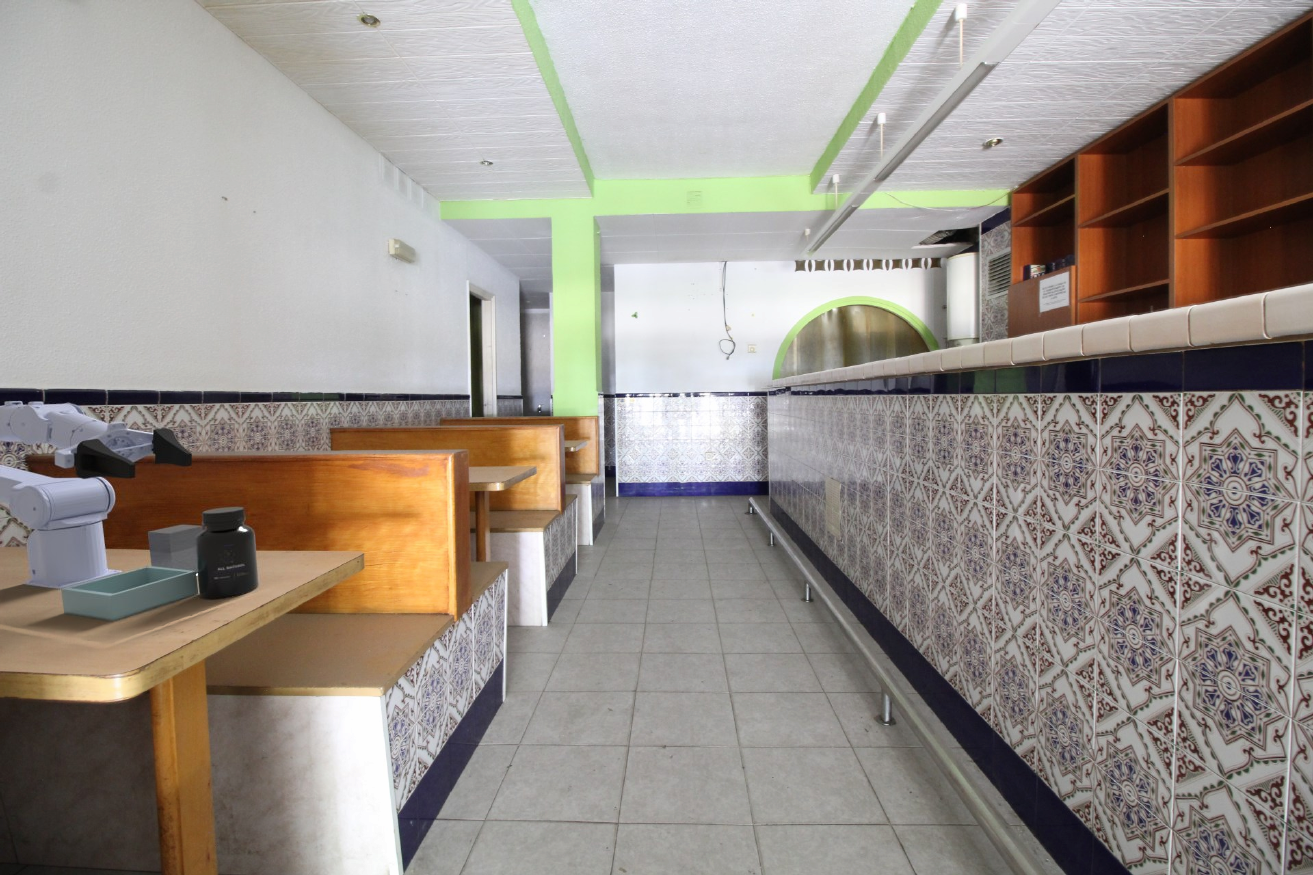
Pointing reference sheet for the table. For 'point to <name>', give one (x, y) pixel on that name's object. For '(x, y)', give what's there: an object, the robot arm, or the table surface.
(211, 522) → the supplement bottle
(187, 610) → the table surface
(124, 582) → the bin
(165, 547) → the block
